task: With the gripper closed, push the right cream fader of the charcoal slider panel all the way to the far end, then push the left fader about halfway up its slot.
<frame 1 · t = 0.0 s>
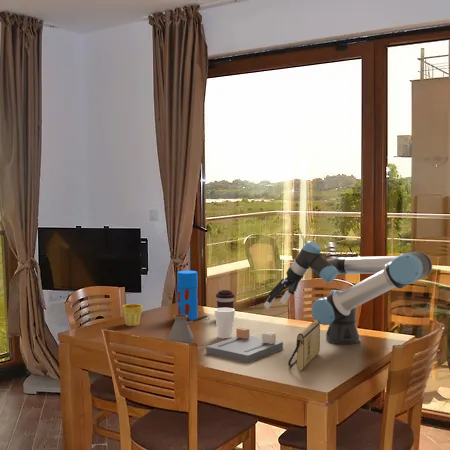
hand: (274, 304, 290), 15 cm above the table, tool tilted 35°, fingers open, 13 cm apart
coffee pot: (189, 346, 275), on the table
foam cup: (224, 337, 290), on the table
clutch purse: (303, 362, 250), on the table
plant pot: (132, 324, 316), on the table
fader 1: (242, 332, 276), point 5 cm above the table, slide at 0.0 cm
thermos: (187, 318, 330), on the table
fader 2: (268, 337, 267), point 5 cm above the table, slide at 0.0 cm
coffee cup: (225, 319, 328), on the table
slider panel: (245, 351, 266), on the table
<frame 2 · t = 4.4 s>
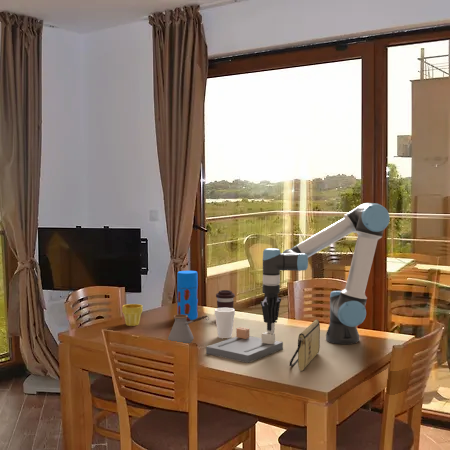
hand: (270, 337, 269), 5 cm above the table, tool pointing down, fingers closed
fader 2: (268, 337, 267), point 5 cm above the table, slide at 0.5 cm, touching gripper
everything else where it was.
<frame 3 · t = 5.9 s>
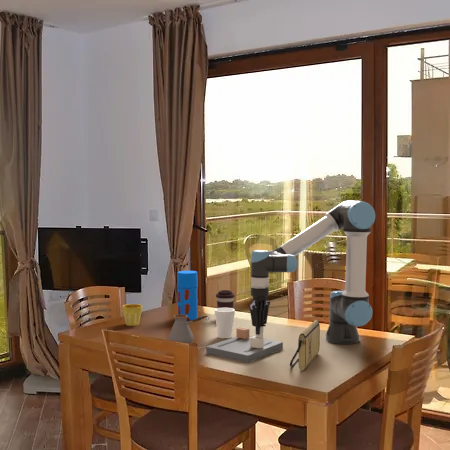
hand: (259, 341, 262), 5 cm above the table, tool pointing down, fingers closed
fader 2: (256, 342, 260), point 5 cm above the table, slide at 9.2 cm, touching gripper
everything else where it was.
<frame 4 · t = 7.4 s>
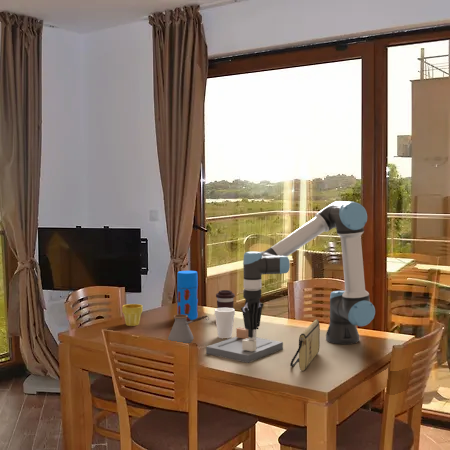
hand: (252, 344, 258), 5 cm above the table, tool pointing down, fingers closed
fader 2: (249, 344, 256), point 5 cm above the table, slide at 14.6 cm, touching gripper
everything else where it was.
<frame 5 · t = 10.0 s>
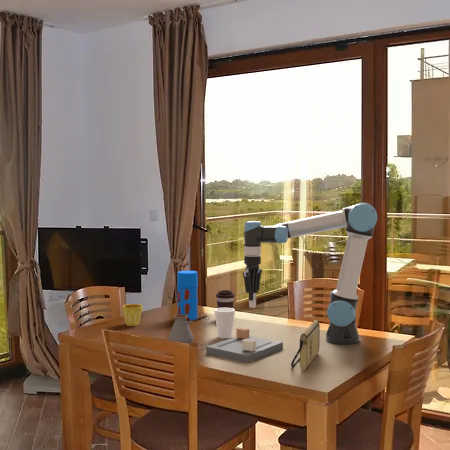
hand: (252, 307, 279), 16 cm above the table, tool pointing down, fingers closed
fader 2: (249, 344, 256), point 5 cm above the table, slide at 14.7 cm
everything else where it was.
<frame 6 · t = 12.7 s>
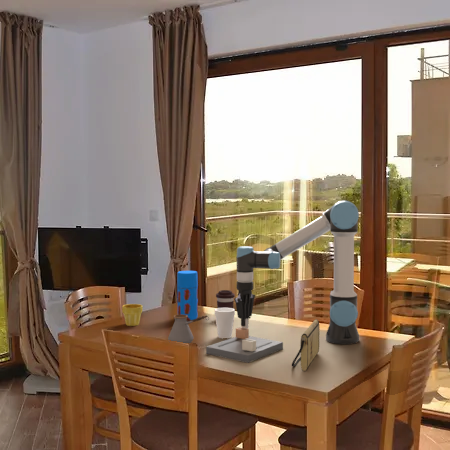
hand: (244, 332, 278), 5 cm above the table, tool pointing down, fingers closed
fader 1: (242, 333, 276), point 5 cm above the table, slide at 0.6 cm, touching gripper
everything else where it was.
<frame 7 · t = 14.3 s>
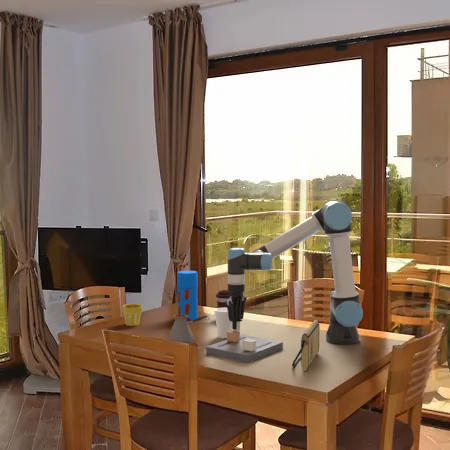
hand: (236, 336, 272), 5 cm above the table, tool pointing down, fingers closed
fader 1: (233, 336, 270), point 5 cm above the table, slide at 7.2 cm, touching gripper
everything else where it was.
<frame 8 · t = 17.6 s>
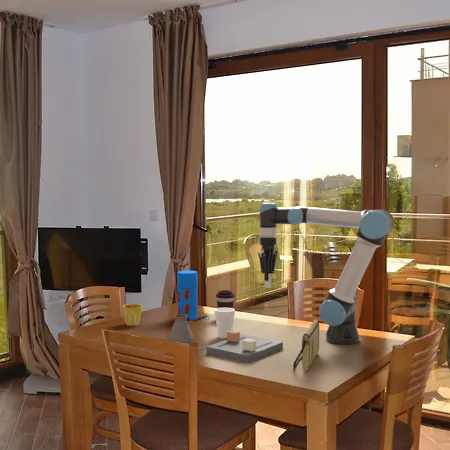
hand: (267, 287, 283), 24 cm above the table, tool pointing down, fingers closed
fader 1: (233, 336, 270), point 5 cm above the table, slide at 7.2 cm
at the end: fader 2 slide at 14.7 cm; fader 1 slide at 7.2 cm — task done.
